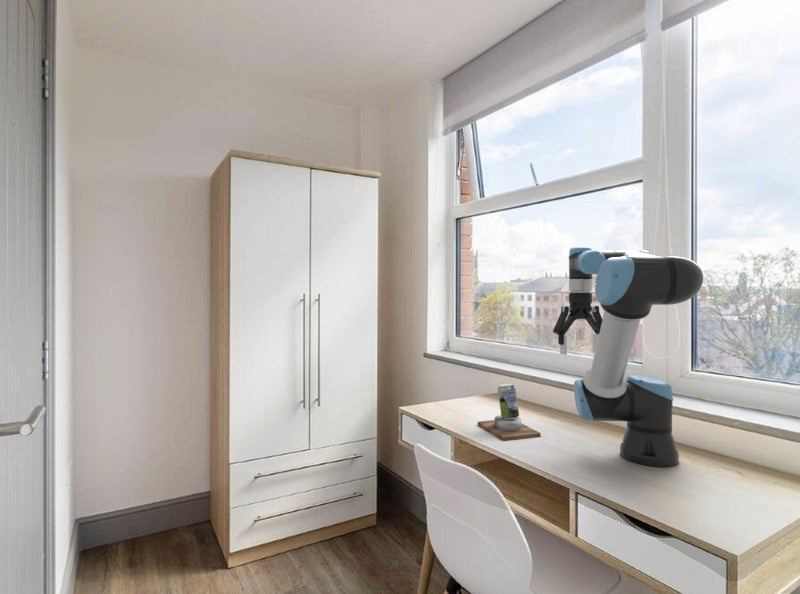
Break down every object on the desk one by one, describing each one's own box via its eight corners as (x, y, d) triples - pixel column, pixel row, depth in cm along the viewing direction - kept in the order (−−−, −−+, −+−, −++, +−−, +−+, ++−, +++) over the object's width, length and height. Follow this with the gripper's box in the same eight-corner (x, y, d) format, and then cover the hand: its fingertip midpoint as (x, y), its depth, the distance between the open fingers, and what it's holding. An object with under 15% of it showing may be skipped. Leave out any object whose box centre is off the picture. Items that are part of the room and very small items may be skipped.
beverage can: (516, 422, 159) (516, 386, 158) (495, 419, 162) (495, 384, 162) (521, 417, 164) (521, 383, 164) (500, 415, 168) (500, 381, 167)
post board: (540, 436, 157) (540, 424, 157) (503, 440, 153) (503, 427, 152) (512, 421, 174) (512, 410, 174) (477, 425, 170) (477, 413, 170)
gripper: (602, 291, 170) (601, 350, 170) (542, 292, 162) (542, 353, 163) (617, 291, 163) (617, 353, 163) (556, 292, 155) (555, 356, 156)
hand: (579, 353), depth 163 cm, fingers open, 13 cm apart
